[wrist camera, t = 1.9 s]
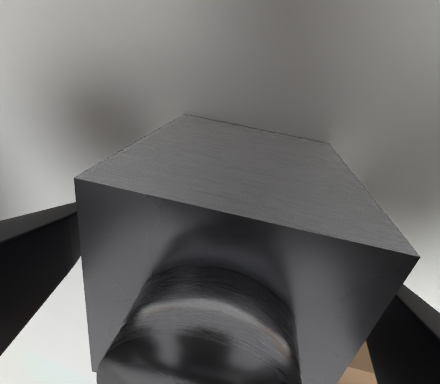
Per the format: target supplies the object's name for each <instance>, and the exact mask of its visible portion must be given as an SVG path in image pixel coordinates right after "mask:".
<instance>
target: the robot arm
mask: <svg viewBox="0 0 440 384" xmlns="http://www.w3.org/2000/svg"><path fill="white" fill-rule="evenodd" d="M80 256H81V248H80V237H79V227H78V216H77V205H76V202H74V203H70V204H66V205H62V206H58V207H54V208H50V209H46V210H42V211H38V212H34V213H30V214H26V215H22V216H18V217H14V218H10V219H6V220H2V221H0V356H1V355H2V353H3V352H4V351H5V350H6V349H7V347H8V346H9V345H10V344H11V342H12V341H13V340H14V339H15V338H16V336H17V335H18V334H19V333H20V331H21V330H22V329H23V328H24V327H25V325H26V324H27V323H28V322H29V320H30V319H31V318H32V317H33V316H34V314H35V313H36V312H37V311H38V309H39V308H40V307H41V306H42V305H43V303H44V302H45V301H46V300H47V298H48V297H49V296H50V295H51V293H52V292H53V291H54V290H55V289H56V287H57V286H58V285H59V284H60V282H61V281H62V280H63V279H64V278H65V276H66V275H67V274H68V273H69V271H70V270H71V269H72V268H73V266H74V265H75V263H76V262H77V261H78V259H79V258H80ZM366 343H367V347H368V351H369V355H370V358H371V362H372V366H373V369H374V373H375V377H376V380H377V384H440V313H439V312H438V311H436V310H435V309H434V308H433V307H431V306H430V305H429V304H428V303H426V302H425V301H424V300H423V299H421V298H420V297H419V296H418V295H416V294H415V293H414V292H412V291H411V290H410V289H409V288H407V287H406V286H405V285H404V284H402V286H401V287H400V289H399V290H398V292H397V293H396V295H395V296H394V298H393V299H392V301H391V302H390V304H389V305H388V307H387V308H386V310H385V311H384V313H383V315H382V316H381V318H380V319H379V321H378V322H377V324H376V325H375V327H374V328H373V330H372V331H371V333H370V334H369V336H368V337H367V339H366Z"/></svg>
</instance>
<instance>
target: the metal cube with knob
mask: <svg viewBox="0 0 440 384" xmlns="http://www.w3.org/2000/svg"><path fill="white" fill-rule="evenodd" d="M74 184H75V195H76V205H77V216H78V227H79V237H80V248H81V259H82V269H83V280H84V291H85V301H86V312H87V323H88V333H89V344H90V355H91V365H92V371H93V372H97V384H337V383H338V381H339V380H340V378H341V377H342V375H343V374H344V372H345V371H346V369H347V368H348V366H349V364H350V363H351V361H352V360H353V358H354V357H355V355H356V354H357V352H358V351H359V349H360V348H361V346H362V345H363V343H364V342H365V340H366V339H367V337H368V336H369V334H370V333H371V331H372V330H373V328H374V327H375V325H376V324H377V322H378V321H379V319H380V318H381V316H382V315H383V313H384V311H385V310H386V308H387V307H388V305H389V304H390V302H391V301H392V299H393V298H394V296H395V295H396V293H397V292H398V290H399V289H400V287H401V286H402V284H403V283H404V281H405V280H406V278H407V277H408V275H409V274H410V272H411V271H412V269H413V268H414V266H415V265H416V263H417V261H418V260H419V258H420V256H419V255H418V253H417V252H416V251H415V250H414V248H413V247H412V246H411V245H410V243H409V242H408V241H407V240H406V238H405V237H404V236H403V235H402V234H401V232H400V231H399V230H398V229H397V227H396V226H395V225H394V224H393V222H392V221H391V220H390V219H389V217H388V216H387V215H386V214H385V213H384V211H383V210H382V209H381V208H380V206H379V205H378V204H377V203H376V201H375V200H374V199H373V198H372V196H371V195H370V194H369V193H368V191H367V190H366V189H365V188H364V187H363V185H362V184H361V183H360V182H359V180H358V179H357V178H356V177H355V175H354V174H353V173H352V172H351V170H350V169H349V168H348V167H347V165H346V164H345V163H344V162H343V161H342V159H341V158H340V157H339V156H338V154H337V153H336V152H335V151H334V149H333V148H332V147H331V146H330V144H327V143H322V142H318V141H313V140H308V139H303V138H298V137H293V136H288V135H283V134H278V133H274V132H269V131H264V130H259V129H254V128H249V127H244V126H239V125H234V124H230V123H225V122H220V121H215V120H210V119H205V118H200V117H195V116H190V115H186V114H184V115H182V116H180V117H178V118H177V119H175V120H173V121H172V122H170V123H168V124H166V125H165V126H163V127H161V128H159V129H158V130H156V131H154V132H152V133H151V134H149V135H147V136H145V137H144V138H142V139H140V140H139V141H137V142H135V143H133V144H132V145H130V146H128V147H126V148H125V149H123V150H121V151H119V152H118V153H116V154H114V155H113V156H111V157H109V158H107V159H106V160H104V161H102V162H100V163H99V164H97V165H95V166H93V167H92V168H90V169H88V170H86V171H85V172H83V173H81V174H80V175H78V176H76V177H74Z"/></svg>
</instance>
